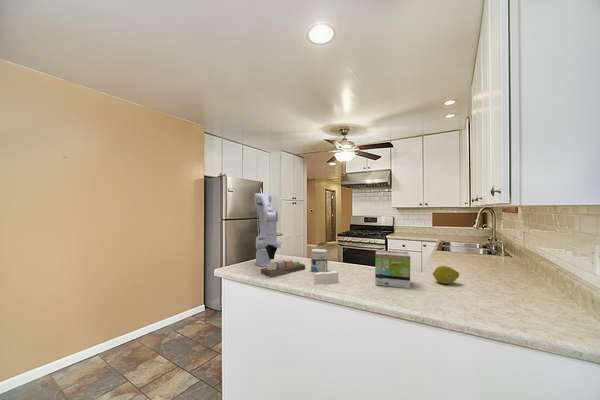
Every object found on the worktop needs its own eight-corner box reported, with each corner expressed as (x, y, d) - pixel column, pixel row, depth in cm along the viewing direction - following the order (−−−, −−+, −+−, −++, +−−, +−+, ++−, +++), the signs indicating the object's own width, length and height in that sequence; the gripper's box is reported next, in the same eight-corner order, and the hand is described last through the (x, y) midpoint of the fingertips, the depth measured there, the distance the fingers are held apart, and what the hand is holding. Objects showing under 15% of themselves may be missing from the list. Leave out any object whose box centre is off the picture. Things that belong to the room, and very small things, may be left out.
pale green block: (289, 266, 145) (289, 261, 145) (295, 265, 147) (295, 260, 147) (294, 267, 142) (293, 262, 142) (299, 266, 144) (299, 261, 144)
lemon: (432, 284, 116) (432, 267, 116) (432, 279, 123) (432, 263, 123) (460, 288, 111) (460, 270, 111) (458, 282, 118) (458, 265, 118)
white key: (266, 269, 135) (266, 263, 135) (272, 267, 138) (272, 262, 137) (270, 270, 132) (270, 265, 132) (276, 269, 134) (276, 263, 134)
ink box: (310, 271, 138) (310, 250, 138) (312, 269, 142) (312, 248, 142) (326, 273, 135) (325, 251, 135) (327, 270, 140) (327, 249, 140)
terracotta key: (282, 265, 142) (282, 260, 142) (288, 264, 144) (288, 259, 144) (286, 267, 138) (286, 261, 138) (292, 265, 141) (292, 260, 141)
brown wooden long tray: (261, 273, 136) (260, 268, 136) (294, 265, 151) (294, 261, 151) (270, 277, 129) (270, 272, 128) (305, 269, 143) (305, 264, 143)
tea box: (375, 285, 115) (374, 253, 115) (375, 279, 125) (375, 249, 124) (410, 289, 110) (410, 255, 110) (408, 281, 120) (407, 250, 120)
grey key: (274, 267, 138) (274, 261, 138) (280, 266, 141) (280, 260, 141) (278, 268, 135) (278, 263, 135) (284, 267, 138) (284, 262, 138)
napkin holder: (342, 281, 123) (342, 269, 123) (338, 289, 112) (338, 276, 112) (312, 278, 128) (312, 267, 128) (306, 286, 117) (306, 273, 117)
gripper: (285, 234, 131) (285, 260, 131) (270, 232, 143) (270, 255, 143) (273, 236, 127) (274, 262, 127) (259, 233, 138) (259, 257, 138)
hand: (271, 259), depth 135 cm, fingers closed
